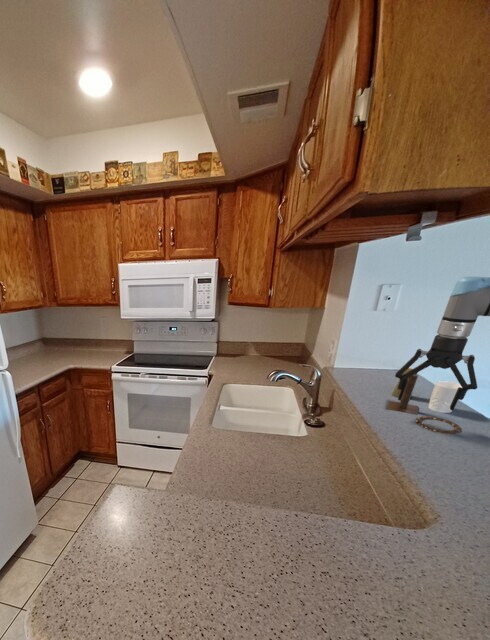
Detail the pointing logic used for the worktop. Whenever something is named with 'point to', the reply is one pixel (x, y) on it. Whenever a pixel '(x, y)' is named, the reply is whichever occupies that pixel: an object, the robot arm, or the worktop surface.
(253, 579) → the worktop surface
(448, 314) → the robot arm
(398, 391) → the cork
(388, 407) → the stand
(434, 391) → the white cup
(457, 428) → the ring
